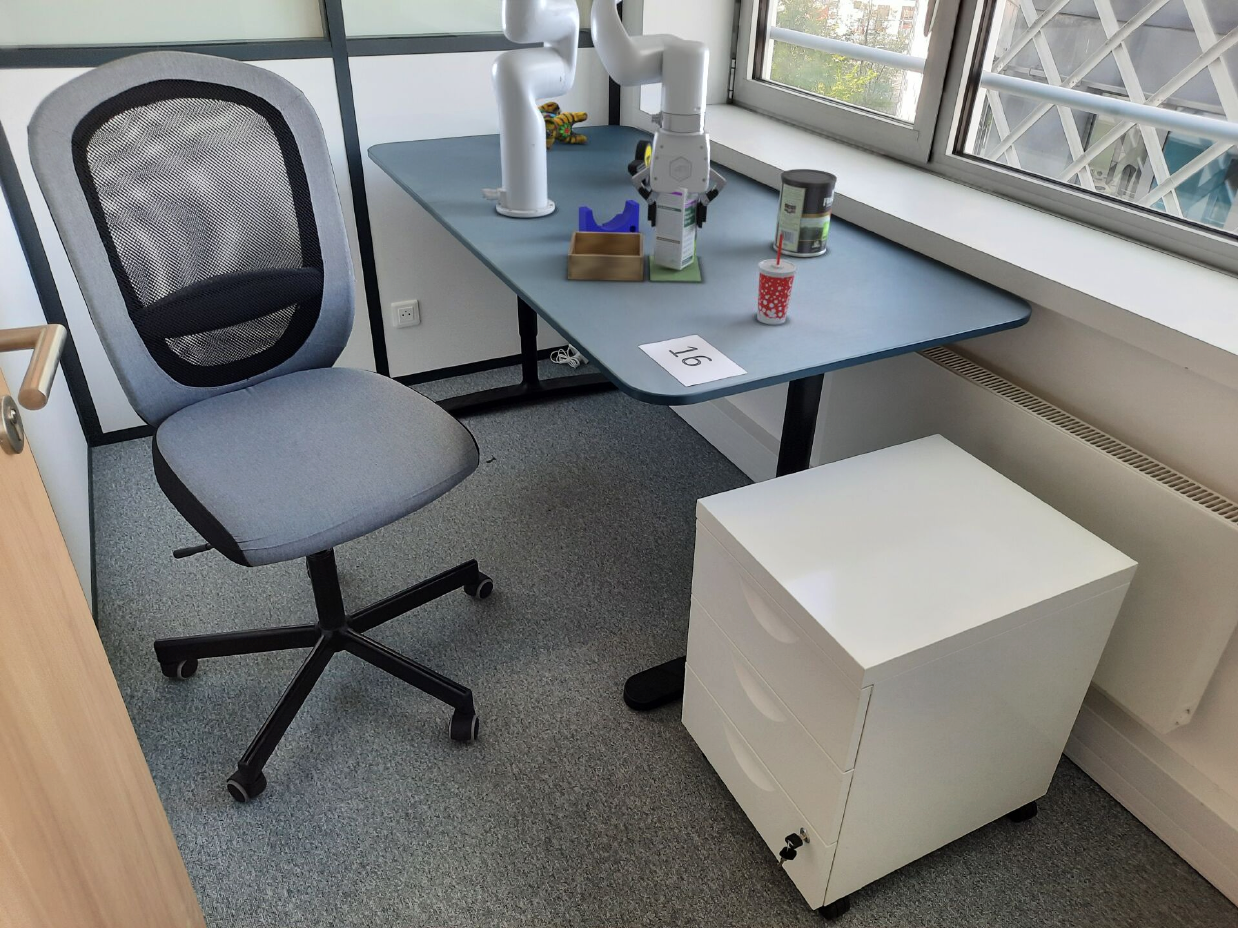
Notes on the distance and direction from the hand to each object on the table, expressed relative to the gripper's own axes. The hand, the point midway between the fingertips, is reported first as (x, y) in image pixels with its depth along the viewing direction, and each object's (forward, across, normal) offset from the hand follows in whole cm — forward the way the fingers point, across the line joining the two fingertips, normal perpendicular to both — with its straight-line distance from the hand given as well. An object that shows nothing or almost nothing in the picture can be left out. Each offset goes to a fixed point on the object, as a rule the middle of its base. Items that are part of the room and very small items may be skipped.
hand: (676, 224), depth 157 cm
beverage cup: (+8, +15, -22) cm, 28 cm away
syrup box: (+7, 0, 0) cm, 7 cm away
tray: (+8, -12, 0) cm, 15 cm away
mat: (+8, 0, 0) cm, 8 cm away
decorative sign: (+8, -4, +61) cm, 62 cm away
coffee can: (+8, +25, +13) cm, 29 cm away
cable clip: (+8, -13, +19) cm, 24 cm away
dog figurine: (+9, -31, +96) cm, 101 cm away
